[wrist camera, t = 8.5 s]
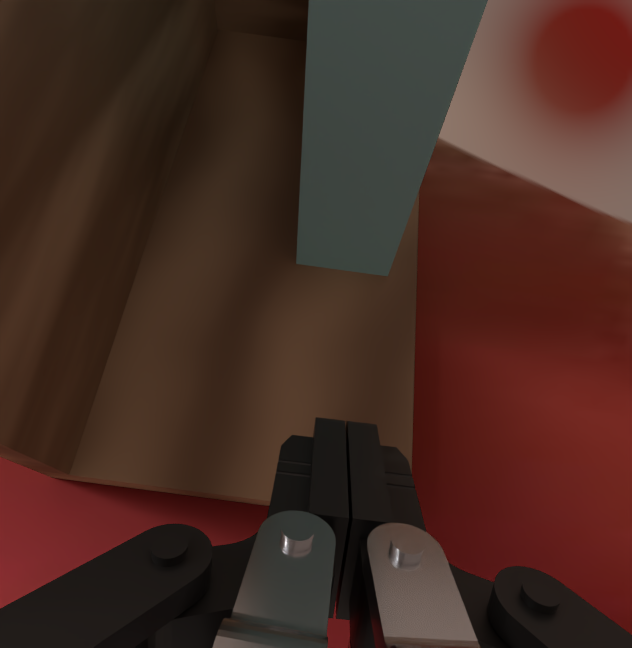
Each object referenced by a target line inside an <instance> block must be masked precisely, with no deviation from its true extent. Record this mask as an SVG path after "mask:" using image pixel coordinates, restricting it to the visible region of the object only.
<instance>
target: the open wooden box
mask: <svg viewBox="0 0 632 648" xmlns="http://www.w3.org/2000/svg"><path fill="white" fill-rule="evenodd" d="M308 8H309V0H0V457H3V458H5V459H7V460H10V461H12V462H15V463H17V464H20V465H22V466H25V467H27V468H30V469H32V470H35V471H37V472H40V473H42V474H45V475H47V476H50V477H52V478H59V479H67V480H74V481H82V482H90V483H97V484H105V485H113V486H120V487H128V488H136V489H143V490H151V491H159V492H166V493H174V494H181V495H189V496H197V497H204V498H212V499H220V500H227V501H235V502H243V503H250V504H258V505H266V506H270V501H271V495H272V490H273V485H274V480H275V475H276V469H277V464H278V459H279V454H280V449H281V445H282V444H283V443H284V442H285V441H286V440H287V439H288V438H289V437H290V436H291V435H299V436H307V437H313V433H314V425H315V418H316V417H319V418H328V419H336V420H344V421H345V426H346V422H347V421H353V422H362V423H370V424H376V425H377V428H378V434H379V440H380V445H382V446H391V447H397V448H398V449H399V450H400V452H401V453H402V454H403V455H404V456H405V457H406V458H407V460H408V461H409V465H410V469H411V473H412V441H413V404H414V366H415V329H416V292H417V255H418V217H419V191H418V194H417V197H416V200H415V202H414V205H413V208H412V211H411V214H410V216H409V219H408V222H407V225H406V227H405V230H404V233H403V236H402V238H401V241H400V244H399V247H398V249H397V252H396V255H395V258H394V260H393V263H392V266H391V269H390V271H389V274H388V276H382V275H374V274H367V273H360V272H352V271H345V270H338V269H330V268H323V267H316V266H308V265H301V264H296V256H297V235H298V214H299V194H300V173H301V152H302V132H303V111H304V90H305V70H306V49H307V28H308Z"/></svg>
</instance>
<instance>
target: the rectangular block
mask: <svg viewBox="0 0 632 648" xmlns="http://www.w3.org/2000/svg"><path fill="white" fill-rule="evenodd" d="M487 1H488V0H309V8H308V28H307V49H306V70H305V90H304V111H303V132H302V152H301V173H300V194H299V214H298V235H297V256H296V264H301V265H308V266H316V267H323V268H330V269H338V270H345V271H352V272H360V273H367V274H374V275H382V276H388V274H389V271H390V269H391V266H392V263H393V260H394V258H395V255H396V252H397V249H398V247H399V244H400V241H401V238H402V236H403V233H404V230H405V227H406V225H407V222H408V219H409V216H410V214H411V211H412V208H413V205H414V202H415V200H416V197H417V194H418V191H419V189H420V186H421V183H422V180H423V178H424V175H425V172H426V169H427V167H428V164H429V161H430V158H431V156H432V153H433V150H434V147H435V145H436V142H437V139H438V136H439V134H440V130H441V128H442V125H443V122H444V120H445V117H446V114H447V111H448V109H449V106H450V103H451V100H452V98H453V95H454V92H455V89H456V87H457V84H458V81H459V78H460V76H461V73H462V70H463V67H464V65H465V62H466V59H467V56H468V54H469V51H470V48H471V45H472V42H473V40H474V37H475V34H476V32H477V29H478V26H479V23H480V20H481V18H482V15H483V12H484V9H485V7H486V4H487Z"/></svg>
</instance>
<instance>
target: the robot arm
mask: <svg viewBox="0 0 632 648" xmlns="http://www.w3.org/2000/svg"><path fill="white" fill-rule="evenodd" d="M335 601H336V619H345V620H350V639H349V645H348V648H632V635H631V634H630V633H628V632H627V631H625V630H624V629H623V628H621V627H620V626H619V625H617V624H616V623H615V622H613V621H612V620H611V619H609V618H608V617H607V616H605V615H604V614H602V613H601V612H600V611H598V610H597V609H596V608H594V607H593V606H592V605H590V604H589V603H588V602H586V601H585V600H584V599H582V598H581V597H579V596H578V595H577V594H575V593H574V592H573V591H571V590H570V589H569V588H567V587H566V586H565V585H563V584H562V583H561V582H559V581H558V580H556V579H555V578H553V577H551V576H549V575H548V574H546V573H543V572H541V571H539V570H535V569H532V568H528V567H521V566H513V567H508V568H505V569H503V570H501V571H500V572H499V573H498V574H497V576H496V578H495V581H494V582H491V581H489V580H486V579H483V578H481V577H478V576H475V575H472V574H470V573H467V572H465V571H463V570H460V569H458V568H457V567H455V566H453V565H452V564H450V563H449V562H447V559H446V556H445V554H444V551H443V549H442V547H441V546H440V545H439V543H438V542H437V541H436V540H435V539H434V538H433V537H432V536H431V535H429V534H428V533H426V529H425V525H424V521H423V517H422V513H421V509H420V505H419V501H418V497H417V493H416V490H415V485H414V481H413V478H412V473H411V469H410V465H409V461H408V460H407V458H406V457H405V456H404V455H403V454H402V453H401V452H400V450H399V449H398V448H397V447H391V446H382V445H380V440H379V434H378V428H377V425H376V424H370V423H362V422H353V421H347V422H346V426H345V421H344V420H336V419H328V418H319V417H316V418H315V425H314V433H313V437H307V436H299V435H291V436H290V437H289V438H288V439H287V440H286V441H285V442H284V443H283V444H282V445H281V449H280V454H279V459H278V464H277V469H276V475H275V480H274V485H273V490H272V495H271V501H270V506H269V511H268V516H267V519H266V520H265V521H264V522H263V523H262V525H261V526H260V528H259V530H258V532H257V533H256V534H255V535H253V536H252V537H250V538H248V539H246V540H244V541H241V542H237V543H233V544H227V545H220V546H213V547H212V545H211V542H210V540H209V538H208V537H207V536H206V535H205V534H204V533H203V532H202V531H200V530H199V529H196V528H194V527H192V526H188V525H183V524H166V525H161V526H157V527H154V528H151V529H149V530H147V531H145V532H143V533H141V534H139V535H137V536H136V537H134V538H132V539H130V540H128V541H126V542H124V543H122V544H121V545H119V546H117V547H115V548H113V549H111V550H109V551H107V552H106V553H104V554H102V555H100V556H98V557H96V558H94V559H92V560H91V561H89V562H87V563H85V564H83V565H81V566H79V567H77V568H76V569H74V570H72V571H70V572H68V573H66V574H64V575H63V576H61V577H59V578H57V579H55V580H53V581H51V582H49V583H48V584H46V585H44V586H42V587H40V588H38V589H36V590H34V591H33V592H31V593H29V594H27V595H25V596H23V597H21V598H19V599H18V600H16V601H14V602H12V603H10V604H8V605H6V606H4V607H3V608H1V609H0V648H327V645H328V637H326V636H327V625H328V618H333V614H334V607H335Z"/></svg>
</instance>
